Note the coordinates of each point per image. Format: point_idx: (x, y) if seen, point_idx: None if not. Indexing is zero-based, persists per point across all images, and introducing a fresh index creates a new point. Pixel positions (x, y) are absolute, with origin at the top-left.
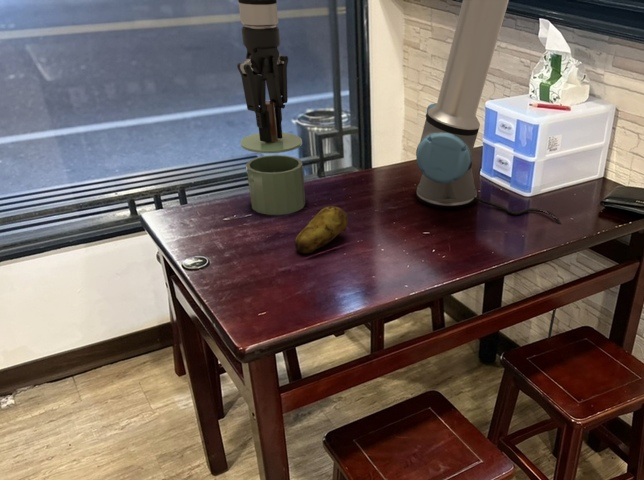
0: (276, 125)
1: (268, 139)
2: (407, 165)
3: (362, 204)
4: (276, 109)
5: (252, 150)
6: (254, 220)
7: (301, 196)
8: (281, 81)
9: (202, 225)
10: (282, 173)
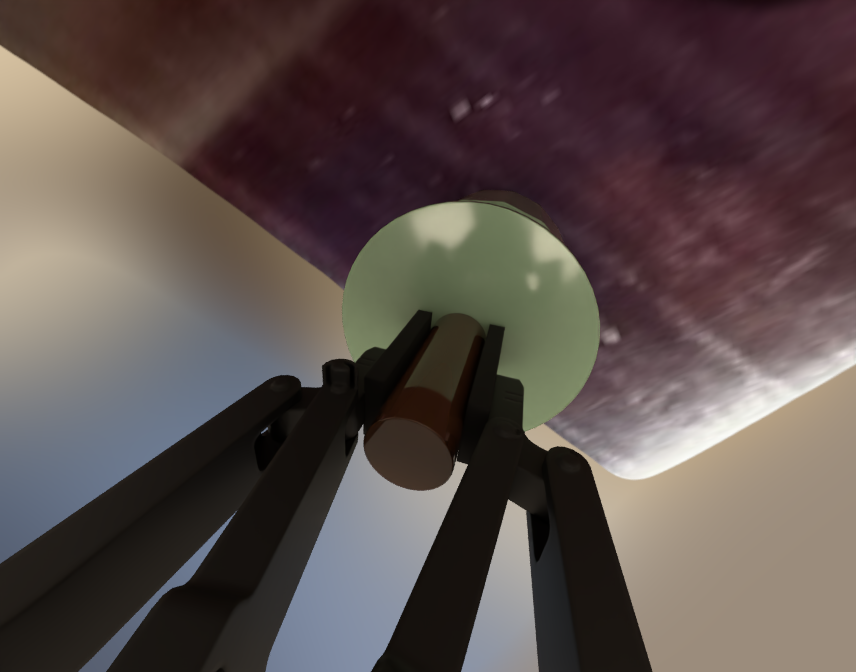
0: (431, 344)
1: (503, 336)
2: (97, 93)
3: (371, 37)
4: (384, 389)
5: (595, 356)
6: (597, 272)
7: (483, 192)
8: (182, 502)
9: (665, 367)
10: (546, 226)
